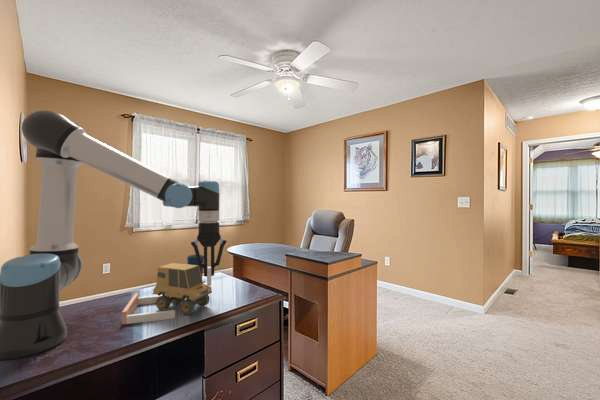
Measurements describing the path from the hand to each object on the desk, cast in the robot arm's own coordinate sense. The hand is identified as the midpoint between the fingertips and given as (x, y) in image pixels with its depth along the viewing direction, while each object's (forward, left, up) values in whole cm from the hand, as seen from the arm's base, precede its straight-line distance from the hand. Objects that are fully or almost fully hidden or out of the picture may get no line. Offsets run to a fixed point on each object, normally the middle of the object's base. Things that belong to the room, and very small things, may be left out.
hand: (209, 284), depth 105 cm
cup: (-5, +20, -8) cm, 22 cm away
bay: (-19, 0, -8) cm, 20 cm away
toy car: (-9, 0, -8) cm, 12 cm away
